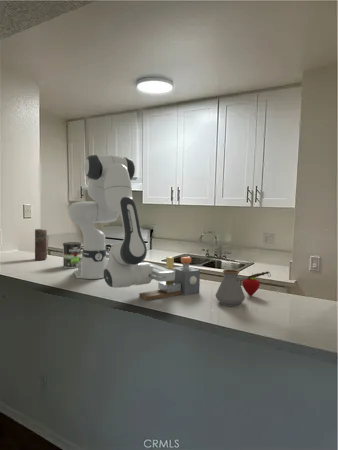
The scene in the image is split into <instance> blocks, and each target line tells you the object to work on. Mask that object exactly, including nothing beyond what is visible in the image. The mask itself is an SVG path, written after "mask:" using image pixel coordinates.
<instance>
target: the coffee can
mask: <svg viewBox="0 0 338 450" xmlns="http://www.w3.org/2000/svg"><path fill="white" fill-rule="evenodd" d="M81 258H82V243H81V242H77V241H76V242H74V241H73V242H72V241H71V242H70V241H69V242H66V241H65V242H63V243H62V267H63V268H64V269H77V268H76V264H78V262H79V261H80V259H81Z"/></svg>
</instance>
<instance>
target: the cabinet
mask: <svg viewBox="0 0 338 450" xmlns="http://www.w3.org/2000/svg"><path fill="white" fill-rule="evenodd" d="M174 269H175V270H176V272H175V279H174V280H173V281H175V282H178V283H180V284H181V291H182V294H181V295H184V296H187V295H192V294H193V295H194V294H199V293H200V288H201V287H200V285H201V284H200V283H201V270H200V269H198V268H194V267H191V266H189V270H183V265H182V266H176V267H175V266H174Z"/></svg>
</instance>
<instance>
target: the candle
mask: <svg viewBox="0 0 338 450" xmlns="http://www.w3.org/2000/svg"><path fill="white" fill-rule="evenodd" d="M47 231H48V230H46V229H41V228H40V229H39V228H36V229H34V261H40V260H41V261H42V260H43V261H44V260H46V259H47V258H48V247H47V245H48V240H47V239H48V236H47V235H48V233H47Z"/></svg>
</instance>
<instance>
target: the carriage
mask: <svg viewBox="0 0 338 450" xmlns="http://www.w3.org/2000/svg"><path fill="white" fill-rule="evenodd" d="M174 259H175V257H172V256H166V259H165V263H166V264H165V267H166V268H167V269H174V267H175V264H174V263H175V260H174ZM157 282H158V286H157V288H158V289H157V290H162V291H164V292H166V293H170V292H176V291H181V284H180V283H178V282H175V281H173V280H172V281H157Z"/></svg>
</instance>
